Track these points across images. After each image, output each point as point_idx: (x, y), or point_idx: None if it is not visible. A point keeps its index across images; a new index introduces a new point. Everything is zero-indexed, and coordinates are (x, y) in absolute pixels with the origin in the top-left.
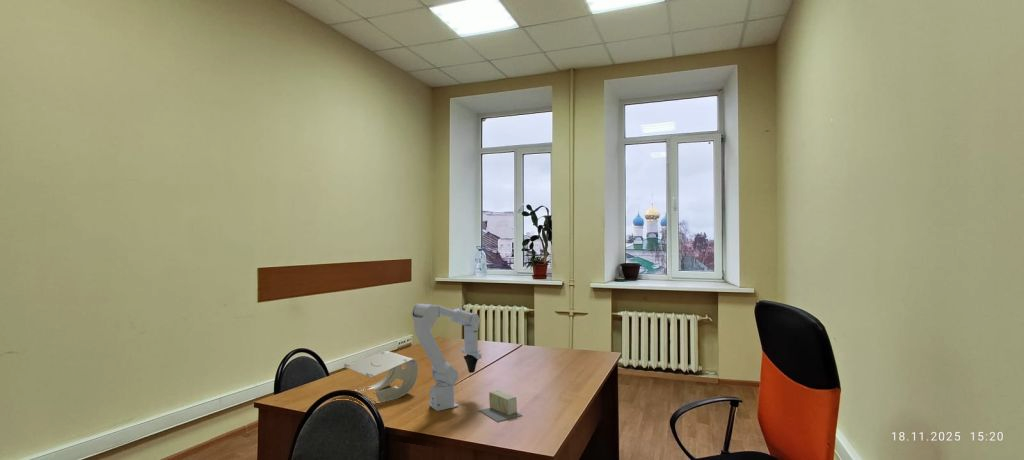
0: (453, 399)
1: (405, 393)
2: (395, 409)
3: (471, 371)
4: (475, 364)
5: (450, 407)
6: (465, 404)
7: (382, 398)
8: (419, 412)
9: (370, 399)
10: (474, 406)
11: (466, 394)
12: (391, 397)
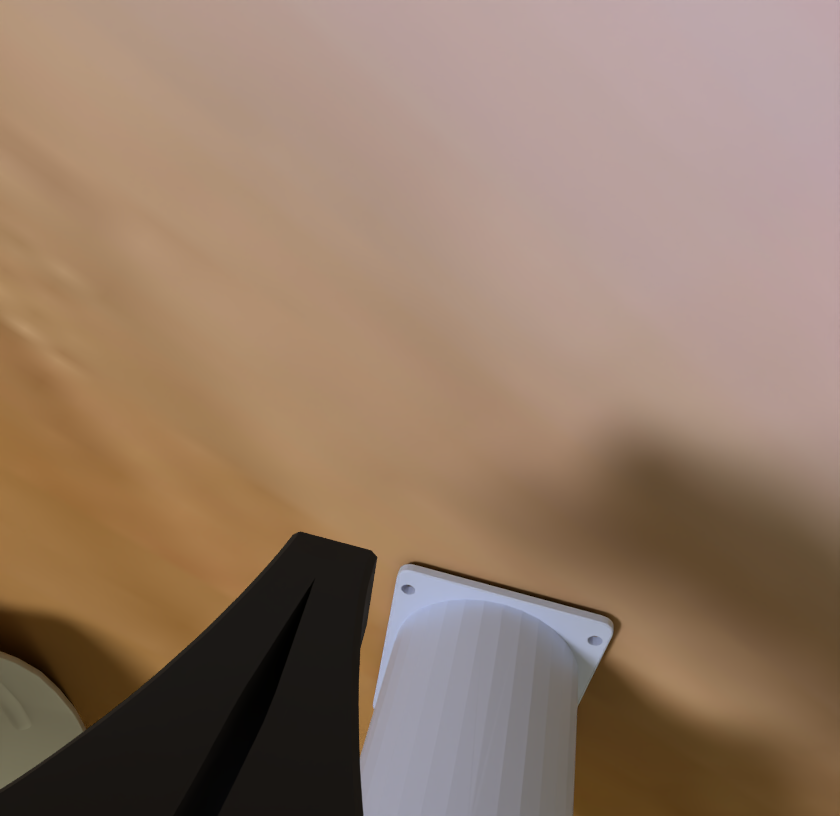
0: (566, 702)
1: (23, 667)
2: None
3: (362, 639)
4: (350, 759)
5: (588, 683)
6: (622, 538)
7: (27, 737)
8: None
9: (15, 768)
10: (775, 530)
11: (314, 295)
12: (31, 706)
